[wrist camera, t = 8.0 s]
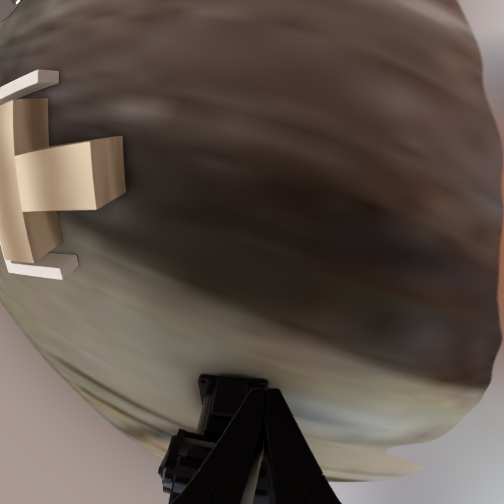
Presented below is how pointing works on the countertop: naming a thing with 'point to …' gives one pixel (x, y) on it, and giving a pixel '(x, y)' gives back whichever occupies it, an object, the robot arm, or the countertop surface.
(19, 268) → the bracket
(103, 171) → the t block
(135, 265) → the countertop surface
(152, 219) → the countertop surface
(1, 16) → the wine glass
